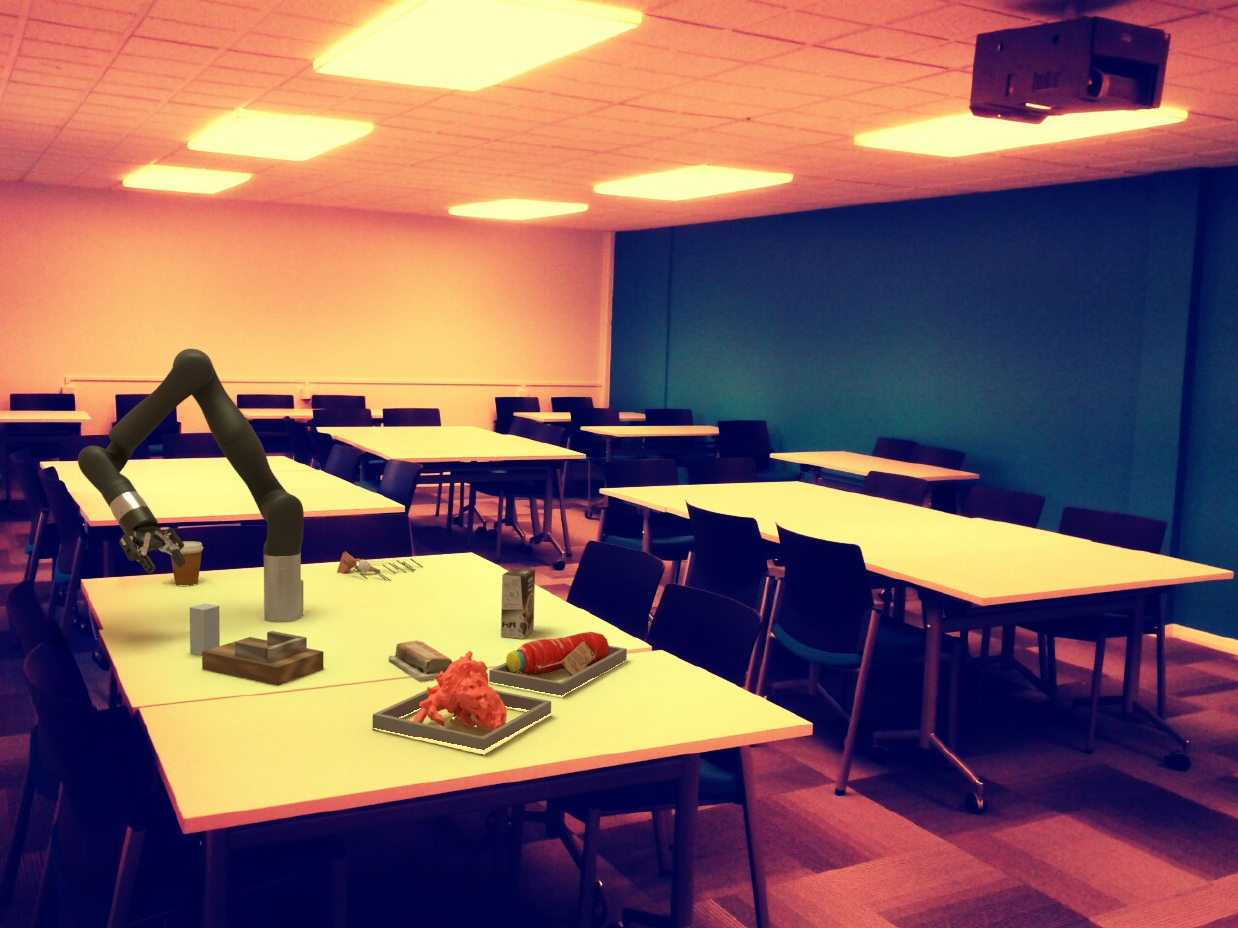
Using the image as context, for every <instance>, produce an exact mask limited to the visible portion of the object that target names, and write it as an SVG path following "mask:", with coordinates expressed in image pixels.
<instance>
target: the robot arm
mask: <svg viewBox="0 0 1238 928" xmlns="http://www.w3.org/2000/svg"><path fill="white" fill-rule="evenodd" d="M191 396H192V397H193V399H194V400H195V401H196V403H197V405H198V406H199V408H200V409H201V411H202V414H203V417H204V419H205V421H206V423H207V425H208V428H209V430H210V432H211V435H212V436H213V438H214V440H215V442H216V443H217V445H218V447H219V448H220V450H221V452H222V453H223V455H224V456H225V458H226V459H227V461H228V462H229V464H230V465H231V467H232V469H234V471H235V472H236V473H237V474H238V476H239V477H240V478H241V480H242V481H243V482H244V484H245V485H246V487H247V488H248V491H249V493H250V495H251V496H252V497H253V500H254V502H255V504H256V506H257V509H258V511H259V513H260V515H261V517H262V518H263V519H264V521H265V522H266V523H267V534H266V541H265V542H264V543H263V609H264V610H263V614H264V615H263V619H264V620H266V621H268V622H275V623H277V622H280V623H281V622H291V621H295V620H298V619H300V618H302V617H303V616H304V580H303V579H302V578H301V577H302V573H301V572H302V570H301V569H302V568H301V566H302V564H301V561H302V559H301V558H302V557H301V555H302V553H301V551H302V545H303V541H304V528H305V527H304V524H305V523H304V521H305V520H304V517H305V516H304V514H305V513H304V506H303V504H302V502H301V500H300V499H299V498H298V497H297V496H295V495H293V494H292V493H289V492H288V491H287V490H286V489H285V488H284V487H283V486H282V484H281V482H280V481H279V480H278V478H277V477H276V476H275V474H274V473H273V471H272V469H271V467H270V464H269V461H268V458H267V454H266V451H265V449H264V446H263V444H262V442H261V440H260V439H259V437H258V435H257V434H256V432H255V430H254V429H253V426H252V425H251V424H250V423H249V421H248V419H247V418H246V417H245V415H244V414H243V412H242V411H241V410H240V408H239V407H238V406H237V405H236V403H235V402H234V401H233V399H232V398H231V397H230V395H229V394H228V393H227V391H226V389H225V387H224V386H223V384H222V382H221V379H220V378H219V376H218V374H217V372H216V370H215V368H214V365H213V362H212V360H211V358H210V357H209V355H208V354H206V353H205V352H204V351H203V350H200V349H196V348H186V349H183V350H181V351H180V352H179V353H177V355H176V356H175V358H174V360H173V363H172V368H171V370H170V371H169V372H168V374H166V377H164V380H162V382H160V384H159V385H158V386H157V387H156V389H154V390H153V392H151V393H150V394H149V395H148V396H147V397H146V398H144V399H143V400H142V401H140V402H139V403H138V404H136V405H135V406H134V407H133V408H132V409H131V410H129V412H127V413H126V414H125V415H124V416H123V417H122V418H121V419H120V420H119V421H118V422H117V423H116V424H115V425H114V426H113V427H112V428H111V429H110V430H109V433H108V437H109V439H110V441H111V442H110V443H109V444H108V446H107V447H106V448H104V447H101V446H98V445H88V446H85V447H84V448H82V449H81V450H80V452H79V454H78V457H77V465H78V468H79V469H80V472H81V473H82V474H83V476H84V477H85V478H86V479H87V480H88V481H89V483H91V484H92V486H93V487H94V488H95V489H97V491H98V492H99V493H100V494H101V496H102V498H103V499H104V501H105V503H106V504H107V506H108V507H109V509H110V510H111V513H112V515H113V517H114V519H115V520H116V522H117V523H118V525H119V527H120V528H121V530H122V531H123V533H124V535H122V537H121V539H120V540H119V541H118V542H119V543H118V544H120V546H121V548H122V549H123V551H124V553H125V555H126V557H127V559H128V561H131V562H133V561H137V562H139V563H140V565H141V566H142V568H143V570H144V571H145V572H147V573H148V574H149V575H150V574H152V573H154V571H156V566H155V564H154V562H153V561H152V559H151V558H150V556H149V555H147V553H148V552H151V551H158V550H159V551H160V552H162V553H166V554H168V555H170V558H171V557H172V558H173V560H174V561H175V563H176V565H177V566H178V567H179V568H180V567H183V566H184V564H185V558H184V557H183V555H182V554H181V552H180V550H181V549H182V548H183V547H184V543H183V542H184V541H182V539H181V538H180V537H179V535H178V533H177V532H176V531H175V530H174V529H173V527H168V529H166V530H162V529H161V528H160V527H159V521H158V520H157V518H156V516H155V514H154V513H153V512H152V510H151V509H150V507H149V506H148V504H147V502H145V501H146V500H144V498H143V497H142V496H141V495H140V494H139V493H138V491H137V490H136V487H134V484H133V483H132V482H131V480H130V479H129V478H128V477H127V476H125V475H123V474H122V473H121V471H122V470H123V469H124V468H125V466H126V465H127V464H128V462H129V460H130V458H131V457H132V455H133V453H134V451H135V450H136V449H137V447H139V446H140V445H141V443H142V442H144V441H145V439H147V438H148V437H149V435H151V434H152V432H153V431H154V430H155V429H156V428H157V427H158V426H159V425H160V424H161V423H162V422H163V421H164V420H165V419H166V418H167V416H168V415H169V414H170V413H171V412H173V410H175V409H176V408H177V407H178V406H179V405H180V404H182V403H183V402H184V401H185V400H186V399H188V398H189V397H191ZM176 542H177V544H178V545H177V544H176ZM164 543H165V545H163V544H164ZM170 547H171V548H173V549H172V550H171V549H170ZM171 555H172V556H171Z"/></svg>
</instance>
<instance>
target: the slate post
mask: <svg viewBox="0 0 1238 928" xmlns="http://www.w3.org/2000/svg"><path fill="white" fill-rule="evenodd" d="M220 630H221V629H220V605H217V604H210V603H202V604H197V605H194V606H190V607H189V646H190V647H189V649H190V650H189V653H190V655H193V654H194V655H195V656H197V655H200V656H199V657H202V651H205V650H209V649H212V648H215V647H218V646H221V645H220V638H221V637H220V636H221V635H220V632H221V631H220ZM194 655H193V656H194Z"/></svg>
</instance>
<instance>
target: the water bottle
mask: <svg viewBox="0 0 1238 928" xmlns="http://www.w3.org/2000/svg"><path fill="white" fill-rule="evenodd" d="M609 646H610V645H609V643H608V639H607V638H606V637H605V635H604V634H602V633H598V632H594V631H586V632H580V633H577V634H572V635H568V636H565V637H561V638H560V637H557V638H544V639H537V640H532V641H528V642H525V643H522V645H520V646H519V647H518V649H516V650H515V649H514V650H512V651H510V652H508V653H507V655H506V660H505V663H507V667H508V669H509V670H510V671H511V672H517V671H519V672H518V673H521V674H522V675H526V676H531V677H532V676H542V675H547V674H551V673H554V672H555V673H556V672H559V671H561V670H565V671H566V672H567V674H569V677H570V676H572V675H574V674H576V673H578V672H580V671H581V670H583V669H585V668H587V667H589V666H591V665H593V664H594V663H596V662H598V661H600V660H602V659H604V658H605V657H607V656H608V653H609Z"/></svg>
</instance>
